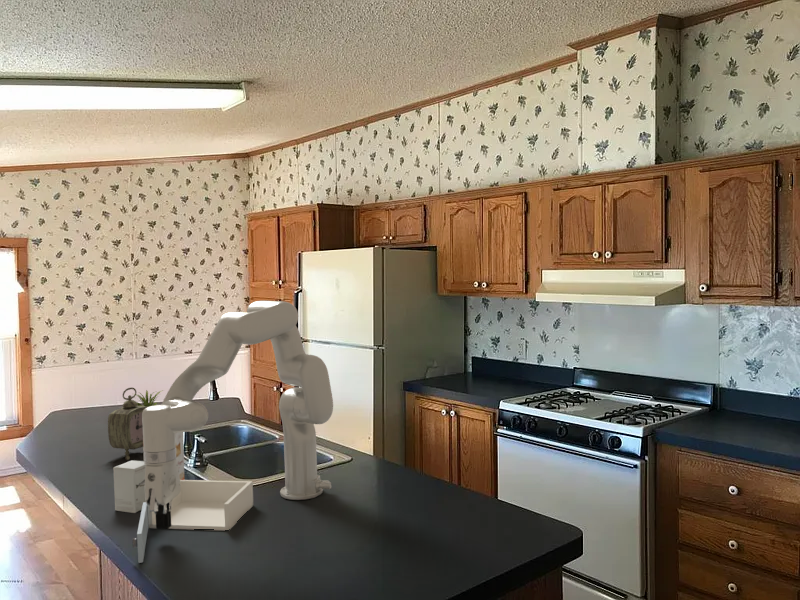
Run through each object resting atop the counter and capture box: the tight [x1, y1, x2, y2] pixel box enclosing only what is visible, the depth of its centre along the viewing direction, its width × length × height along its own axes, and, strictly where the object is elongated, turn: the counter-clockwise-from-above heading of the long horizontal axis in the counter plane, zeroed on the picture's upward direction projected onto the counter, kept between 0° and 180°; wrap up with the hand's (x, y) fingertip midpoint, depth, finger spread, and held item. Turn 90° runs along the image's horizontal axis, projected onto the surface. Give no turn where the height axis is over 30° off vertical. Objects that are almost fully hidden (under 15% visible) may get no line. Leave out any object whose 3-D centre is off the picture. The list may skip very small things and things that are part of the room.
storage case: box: [147, 479, 254, 531], centre depth 185 cm, size 22×18×7 cm
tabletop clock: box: [107, 387, 149, 461], centre depth 246 cm, size 14×9×25 cm, turn 161°
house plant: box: [134, 389, 165, 407], centre depth 291 cm, size 14×14×16 cm
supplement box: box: [112, 460, 148, 514], centre depth 193 cm, size 7×7×13 cm
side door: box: [132, 502, 149, 564], centre depth 167 cm, size 22×2×7 cm, turn 17°
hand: (163, 527), depth 169 cm, fingers closed
